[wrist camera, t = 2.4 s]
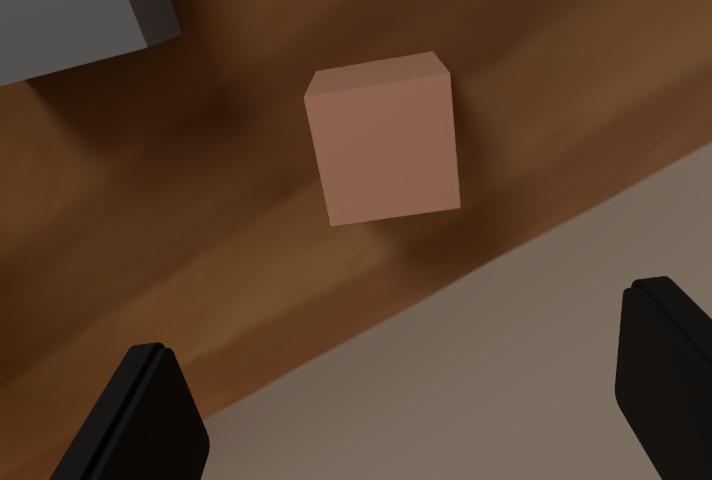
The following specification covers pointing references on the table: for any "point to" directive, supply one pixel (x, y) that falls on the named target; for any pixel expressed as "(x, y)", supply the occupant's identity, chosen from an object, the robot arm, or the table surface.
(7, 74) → the charcoal block
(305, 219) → the table surface
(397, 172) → the terracotta cube
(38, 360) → the table surface
